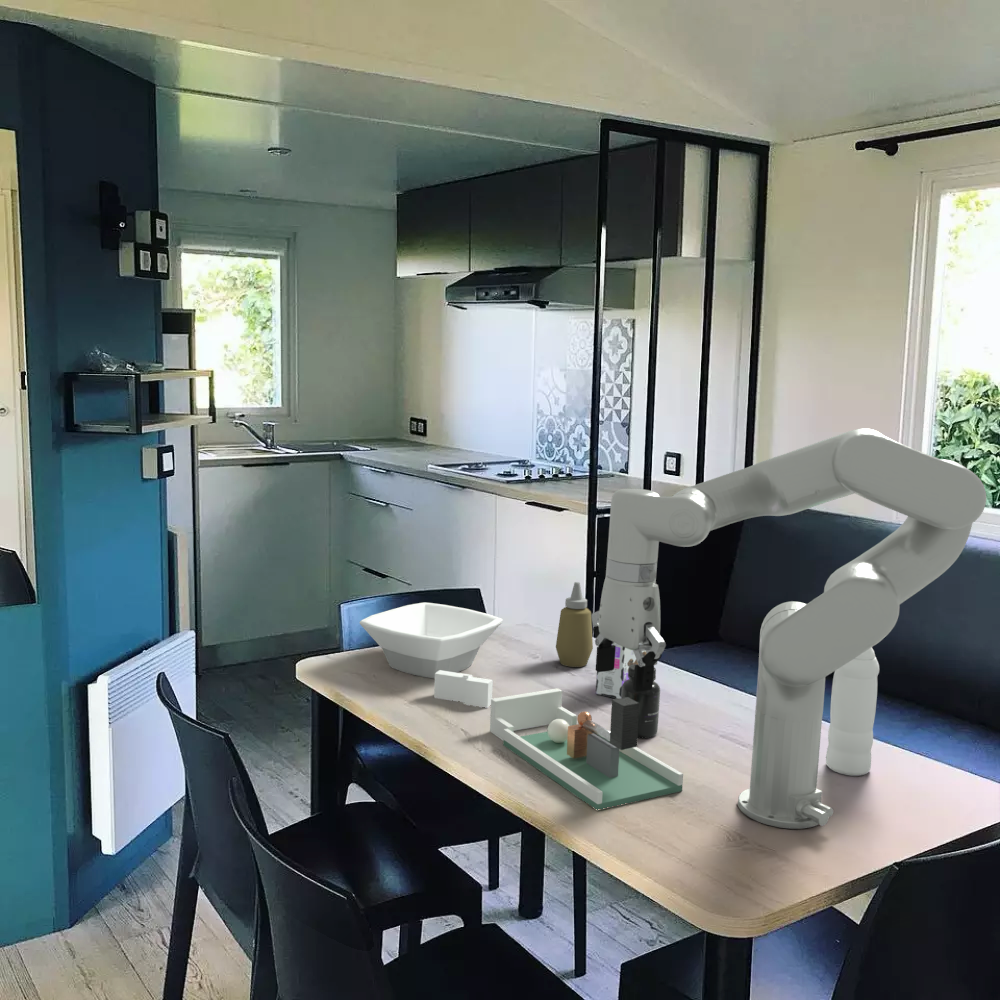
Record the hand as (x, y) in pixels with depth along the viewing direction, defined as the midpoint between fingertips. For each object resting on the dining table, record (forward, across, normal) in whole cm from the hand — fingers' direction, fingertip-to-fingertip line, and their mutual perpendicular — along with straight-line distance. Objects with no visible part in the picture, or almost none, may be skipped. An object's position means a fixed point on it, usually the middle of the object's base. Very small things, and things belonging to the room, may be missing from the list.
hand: (623, 680), depth 157 cm
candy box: (+18, +38, -30) cm, 52 cm away
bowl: (+19, +67, -1) cm, 70 cm away
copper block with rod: (+16, +5, -1) cm, 16 cm away
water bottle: (+17, -11, -40) cm, 44 cm away
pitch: (+18, +11, -1) cm, 21 cm away
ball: (+15, +17, -1) cm, 23 cm away
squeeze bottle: (+18, +56, -30) cm, 66 cm away
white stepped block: (+19, +44, +4) cm, 48 cm away
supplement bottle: (+18, +17, -18) cm, 30 cm away
